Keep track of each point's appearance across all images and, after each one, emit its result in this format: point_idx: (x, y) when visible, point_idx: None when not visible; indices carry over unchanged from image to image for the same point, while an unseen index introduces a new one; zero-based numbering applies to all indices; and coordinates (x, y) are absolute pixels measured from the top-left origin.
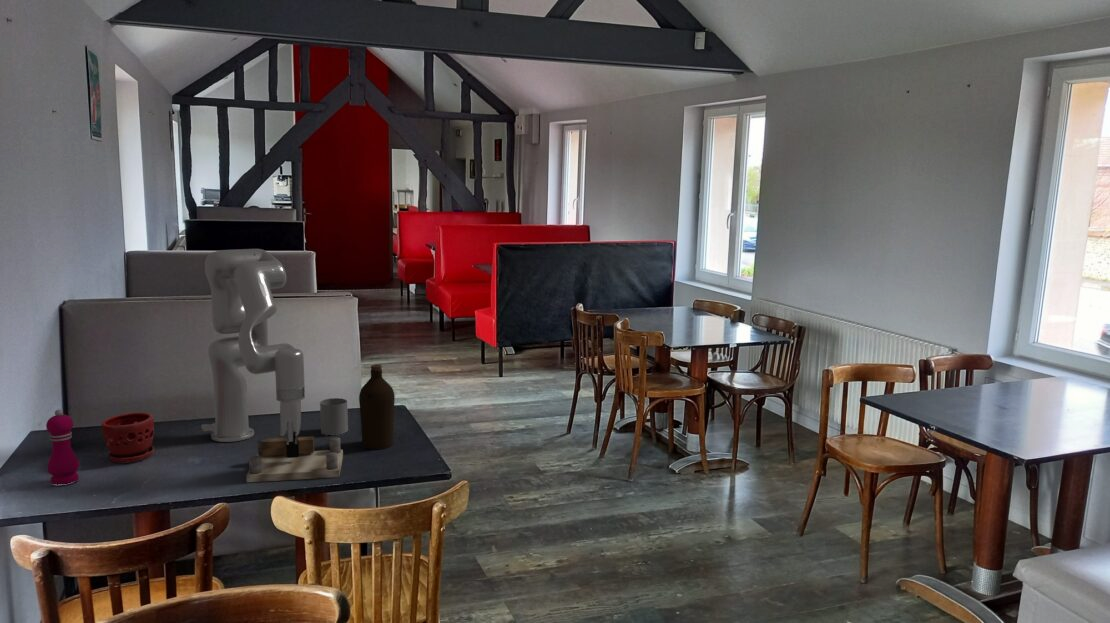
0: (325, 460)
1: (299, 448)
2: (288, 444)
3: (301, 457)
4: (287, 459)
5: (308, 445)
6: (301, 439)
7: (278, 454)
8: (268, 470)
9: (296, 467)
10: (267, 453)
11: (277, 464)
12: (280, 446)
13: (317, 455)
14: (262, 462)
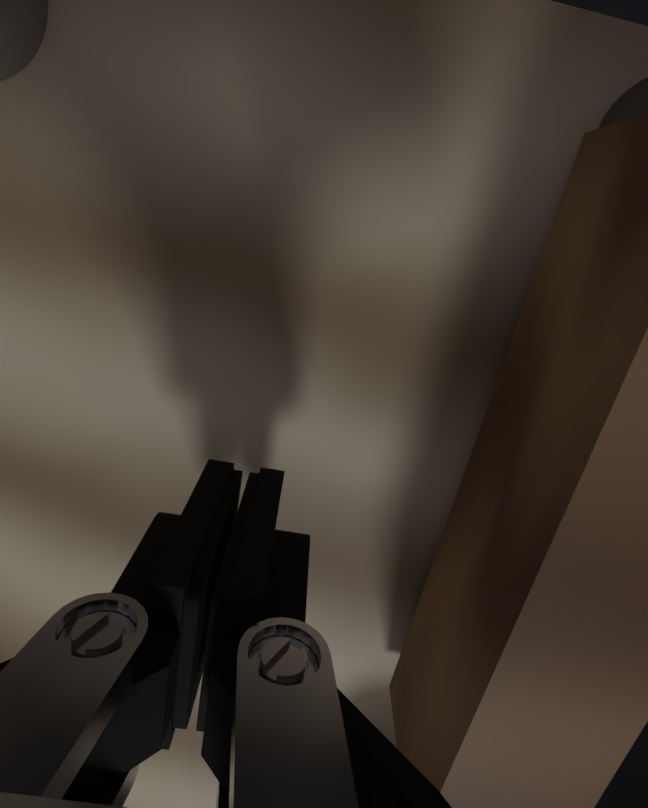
0: (194, 728)
1: (440, 625)
2: (83, 620)
3: (357, 571)
4: (353, 439)
5: (415, 735)
6: (496, 756)
7: (503, 362)
8: (10, 187)
9: (54, 499)
10: (569, 216)
11: (209, 317)
12: (538, 434)
13: (358, 693)
14: (359, 126)
